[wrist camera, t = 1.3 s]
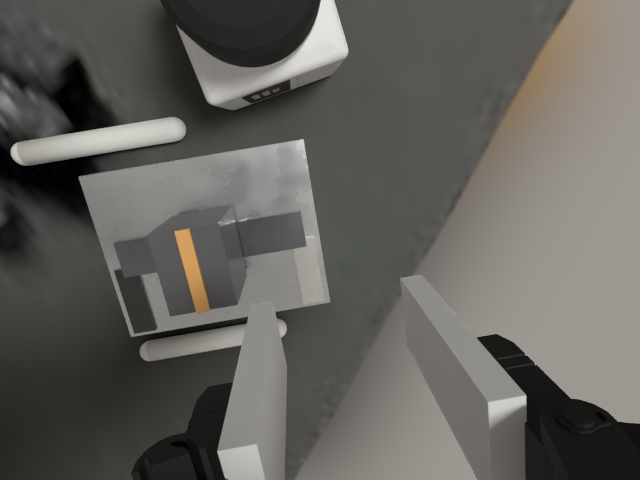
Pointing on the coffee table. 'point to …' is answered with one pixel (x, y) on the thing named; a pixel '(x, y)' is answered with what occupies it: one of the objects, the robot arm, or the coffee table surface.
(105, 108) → the coffee table surface
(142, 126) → the cord near
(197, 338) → the rod
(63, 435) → the coffee table surface
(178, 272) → the toggle
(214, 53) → the container
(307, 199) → the panel
